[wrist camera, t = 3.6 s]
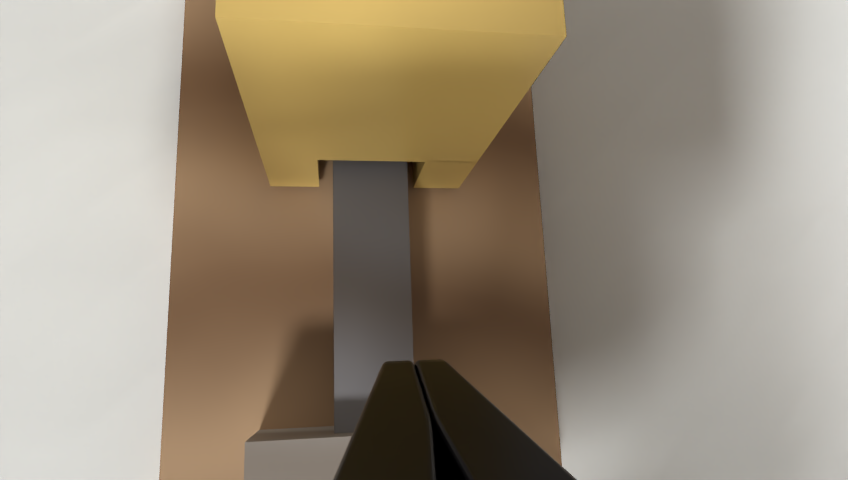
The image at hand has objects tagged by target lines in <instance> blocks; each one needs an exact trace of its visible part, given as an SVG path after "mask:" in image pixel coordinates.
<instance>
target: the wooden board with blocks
mask: <svg viewBox="0 0 848 480" xmlns="http://www.w3.org/2000/svg"><path fill="white" fill-rule="evenodd" d="M215 8H216V0H185V16H184V34H183V53H182V71H181V89H180V108H179V126H178V145H177V163H176V181H175V200H174V218H173V236H172V255H171V273H170V291H169V310H168V328H167V347H166V365H165V383H164V402H163V420H162V438H161V457H160V475H159V480H333V479H334V476H335V474H336V472H337V469H338V467H339V465H340V462H341V460H342V458H343V455H344V453H345V451H346V448H347V446H348V444H349V441H350V439H351V437H352V434H353V432H354V430H355V427H356V425H357V423H358V420H359V418H360V416H361V413H362V411H363V409H364V406H365V404H366V402H367V399H368V397H369V395H370V392H371V390H372V388H373V385H374V383H375V380H376V378H377V376H378V373H379V371H380V369H381V366H382V365H383V363H384V362H387V361H407V360H408V361H411V362H413V364H415V362H416V361H418V360H434V359H442V360H444V361H446V362H447V363H448V364H450V365H451V366H452V367H453V368H454V369H455V370H456V371H457V372H458V373H459V374H461V375H462V376H463V377H464V378H465V379H466V380H467V381H468V382H469V383H470V384H472V385H473V386H474V387H475V388H476V389H477V390H478V391H479V392H480V393H482V394H483V395H484V396H485V397H486V398H487V399H488V400H489V401H490V402H491V403H493V404H494V405H495V406H496V407H497V408H498V409H499V410H500V411H501V412H502V413H504V414H505V415H506V416H507V417H508V418H509V419H510V420H511V421H512V422H514V423H515V424H516V425H517V426H518V427H519V428H520V429H521V430H522V431H523V432H525V433H526V434H527V435H528V436H529V437H530V438H531V439H532V440H533V441H534V442H536V443H537V444H538V445H539V446H540V447H541V448H542V449H543V450H544V451H546V452H547V453H548V454H549V455H550V456H551V457H552V458H553V459H554V460H555V461H557V462H558V463H559V464H560V465H561V466H562V462H561V450H560V437H559V425H558V413H557V400H556V388H555V376H554V364H553V351H552V339H551V327H550V314H549V302H548V290H547V277H546V265H545V253H544V240H543V228H542V216H541V203H540V191H539V179H538V167H537V154H536V142H535V130H534V117H533V105H532V93H531V87H530V88H529V90H528V91H527V93H526V94H525V96H524V97H523V98H522V100H521V101H520V103H519V104H518V105H517V107H516V108H515V110H514V111H513V112H512V114H511V115H510V117H509V118H508V119H507V121H506V122H505V124H504V125H503V127H502V128H501V129H500V131H499V132H498V134H497V135H496V136H495V138H494V139H493V141H492V142H491V143H490V145H489V146H488V148H487V149H486V150H485V152H484V153H483V155H482V156H481V158H480V159H479V160H478V162H477V163H476V165H475V166H474V167H473V169H472V170H471V172H470V173H469V174H468V176H467V177H466V179H465V180H464V181H463V183H462V184H461V186H460V187H459V188H413V164H412V162H404V161H349V160H319V187H292V186H270V184H269V181H268V177H267V174H266V171H265V168H264V165H263V162H262V159H261V156H260V153H259V150H258V147H257V144H256V141H255V138H254V135H253V132H252V128H251V125H250V122H249V119H248V116H247V113H246V110H245V107H244V104H243V101H242V98H241V95H240V92H239V89H238V86H237V82H236V79H235V76H234V73H233V70H232V67H231V64H230V61H229V58H228V55H227V52H226V49H225V46H224V43H223V40H222V37H221V33H220V30H219V27H218V24H217V21H216V18H215Z"/></svg>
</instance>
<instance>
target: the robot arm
mask: <svg viewBox="0 0 848 480" xmlns="http://www.w3.org/2000/svg"><path fill="white" fill-rule="evenodd" d="M333 480H576V479H575V478H574V477H573V476H572V475H571V474H570V473H569V472H568V471H566V470H565V469H564V468H563V467H562V466H561V465H560V464H559V463H558V462H557V461H555V460H554V459H553V458H552V457H551V456H550V455H549V454H548V453H547V452H546V451H544V450H543V449H542V448H541V447H540V446H539V445H538V444H537V443H536V442H534V441H533V440H532V439H531V438H530V437H529V436H528V435H527V434H526V433H525V432H523V431H522V430H521V429H520V428H519V427H518V426H517V425H516V424H515V423H514V422H512V421H511V420H510V419H509V418H508V417H507V416H506V415H505V414H504V413H502V412H501V411H500V410H499V409H498V408H497V407H496V406H495V405H494V404H493V403H491V402H490V401H489V400H488V399H487V398H486V397H485V396H484V395H483V394H482V393H480V392H479V391H478V390H477V389H476V388H475V387H474V386H473V385H472V384H470V383H469V382H468V381H467V380H466V379H465V378H464V377H463V376H462V375H461V374H459V373H458V372H457V371H456V370H455V369H454V368H453V367H452V366H451V365H450V364H448V363H447V362H446V361H444V360H442V359H434V360H418V361H416V362H415V364H413V362H411V361H408V360H407V361H387V362H384V363H383V365H382V366H381V369H380V371H379V373H378V376H377V378H376V380H375V383H374V385H373V388H372V390H371V392H370V395H369V397H368V399H367V402H366V404H365V406H364V409H363V411H362V413H361V416H360V418H359V420H358V423H357V425H356V427H355V430H354V432H353V434H352V437H351V439H350V441H349V444H348V446H347V448H346V451H345V453H344V455H343V458H342V460H341V462H340V465H339V467H338V469H337V472H336V474H335V476H334V479H333Z"/></svg>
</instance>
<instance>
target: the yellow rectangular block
mask: <svg viewBox="0 0 848 480" xmlns="http://www.w3.org/2000/svg"><path fill="white" fill-rule="evenodd" d="M215 18H216V21H217V24H218V27H219V30H220V33H221V37H222V40H223V43H224V46H225V49H226V52H227V55H228V58H229V61H230V64H231V67H232V70H233V73H234V76H235V79H236V82H237V86H238V89H239V92H240V95H241V98H242V101H243V104H244V107H245V110H246V113H247V116H248V119H249V122H250V125H251V128H252V132H253V135H254V138H255V141H256V144H257V147H258V150H259V153H260V156H261V159H262V162H263V165H264V168H265V171H266V174H267V177H268V181H269V184H270V186H292V187H319V160H349V161H404V162H412V164H413V188H459V187H460V186H461V184H462V183H463V181H464V180H465V179H466V177H467V176H468V174H469V173H470V172H471V170H472V169H473V167H474V166H475V165H476V163H477V162H478V160H479V159H480V158H481V156H482V155H483V153H484V152H485V150H486V149H487V148H488V146H489V145H490V143H491V142H492V141H493V139H494V138H495V136H496V135H497V134H498V132H499V131H500V129H501V128H502V127H503V125H504V124H505V122H506V121H507V119H508V118H509V117H510V115H511V114H512V112H513V111H514V110H515V108H516V107H517V105H518V104H519V103H520V101H521V100H522V98H523V97H524V96H525V94H526V93H527V91H528V90H529V88H530V87H531V86H532V84H533V83H534V81H535V80H536V79H537V77H538V76H539V74H540V73H541V72H542V70H543V69H544V67H545V66H546V65H547V63H548V62H549V60H550V59H551V57H552V56H553V55H554V53H555V52H556V50H557V49H558V48H559V46H560V45H561V43H562V42H563V41H564V39H565V38H566V36H567V35H566V25H565V15H564V4H563V0H216V8H215Z"/></svg>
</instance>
